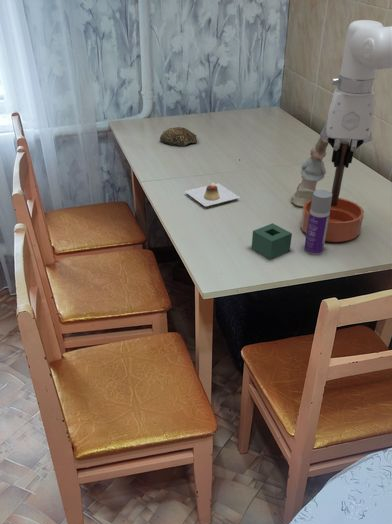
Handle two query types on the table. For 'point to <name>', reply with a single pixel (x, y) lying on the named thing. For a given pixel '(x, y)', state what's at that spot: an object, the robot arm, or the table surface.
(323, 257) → the table surface
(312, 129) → the table surface
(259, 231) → the holder
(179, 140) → the brown rock
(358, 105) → the robot arm
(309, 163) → the figurine
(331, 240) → the bowl
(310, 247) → the container
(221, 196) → the dessert
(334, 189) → the stick
